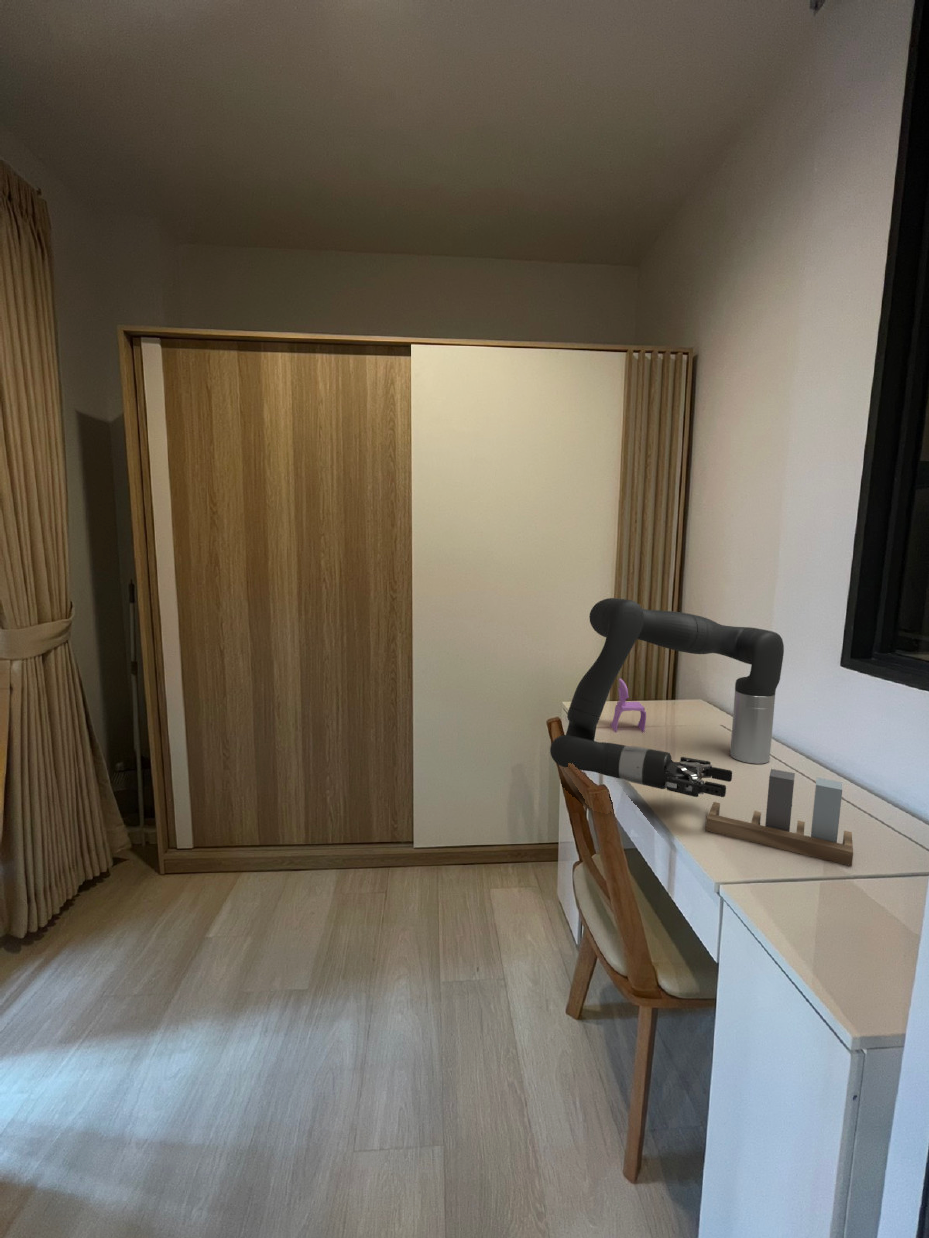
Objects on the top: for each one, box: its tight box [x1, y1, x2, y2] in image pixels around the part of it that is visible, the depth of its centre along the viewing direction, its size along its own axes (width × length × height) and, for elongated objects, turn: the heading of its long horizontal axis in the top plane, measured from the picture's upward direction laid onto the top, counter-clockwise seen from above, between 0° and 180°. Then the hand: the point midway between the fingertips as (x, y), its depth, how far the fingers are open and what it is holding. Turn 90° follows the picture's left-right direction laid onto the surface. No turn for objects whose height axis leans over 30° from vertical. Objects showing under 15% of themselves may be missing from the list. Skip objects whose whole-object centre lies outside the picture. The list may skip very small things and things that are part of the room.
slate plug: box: [810, 777, 843, 843], centre depth 110 cm, size 4×4×12 cm
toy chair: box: [610, 678, 647, 733], centre depth 175 cm, size 8×9×15 cm
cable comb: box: [705, 801, 854, 867], centre depth 113 cm, size 8×24×2 cm, turn 59°
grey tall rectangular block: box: [764, 768, 796, 832], centre depth 114 cm, size 4×4×12 cm
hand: (728, 783), depth 118 cm, fingers open, 8 cm apart
